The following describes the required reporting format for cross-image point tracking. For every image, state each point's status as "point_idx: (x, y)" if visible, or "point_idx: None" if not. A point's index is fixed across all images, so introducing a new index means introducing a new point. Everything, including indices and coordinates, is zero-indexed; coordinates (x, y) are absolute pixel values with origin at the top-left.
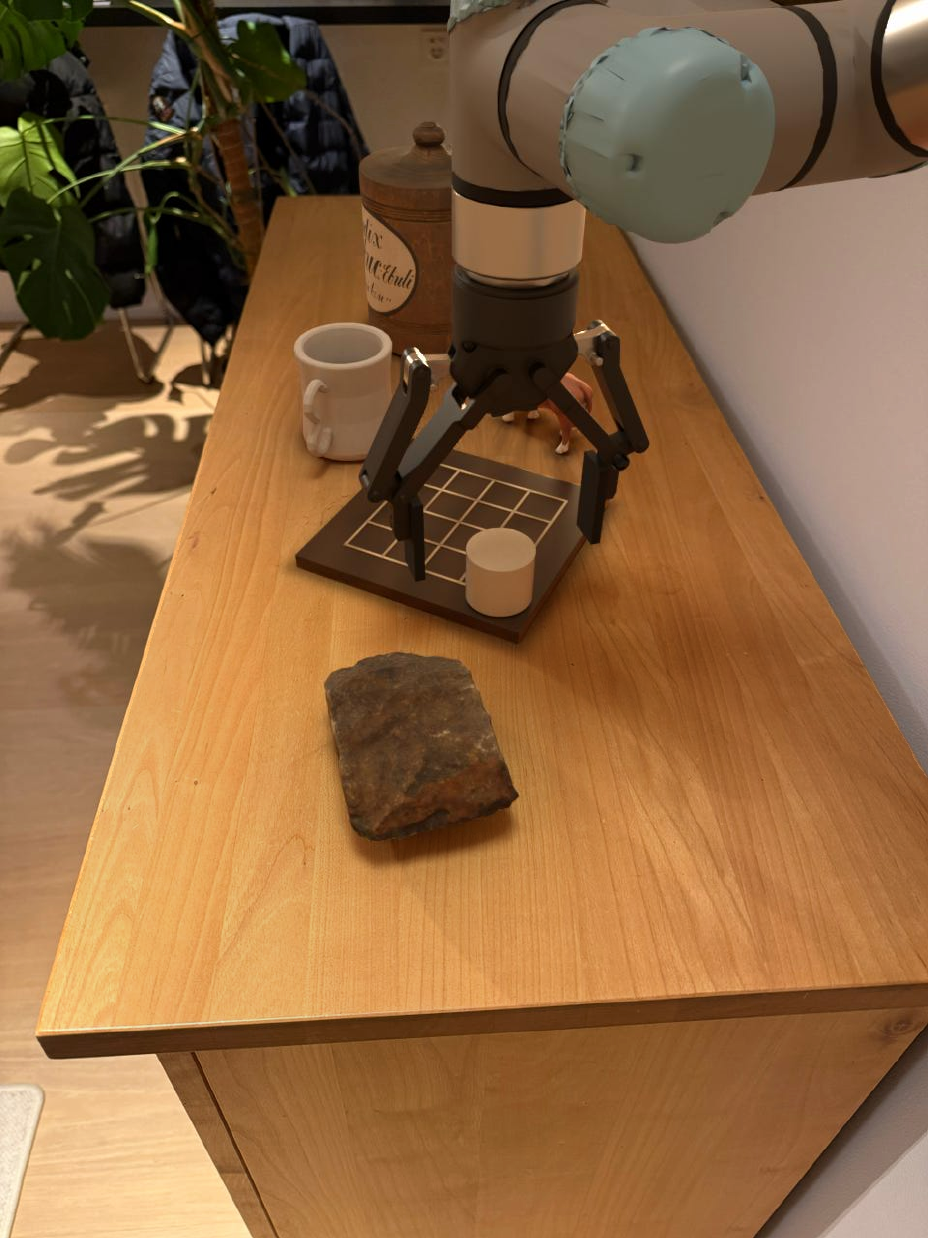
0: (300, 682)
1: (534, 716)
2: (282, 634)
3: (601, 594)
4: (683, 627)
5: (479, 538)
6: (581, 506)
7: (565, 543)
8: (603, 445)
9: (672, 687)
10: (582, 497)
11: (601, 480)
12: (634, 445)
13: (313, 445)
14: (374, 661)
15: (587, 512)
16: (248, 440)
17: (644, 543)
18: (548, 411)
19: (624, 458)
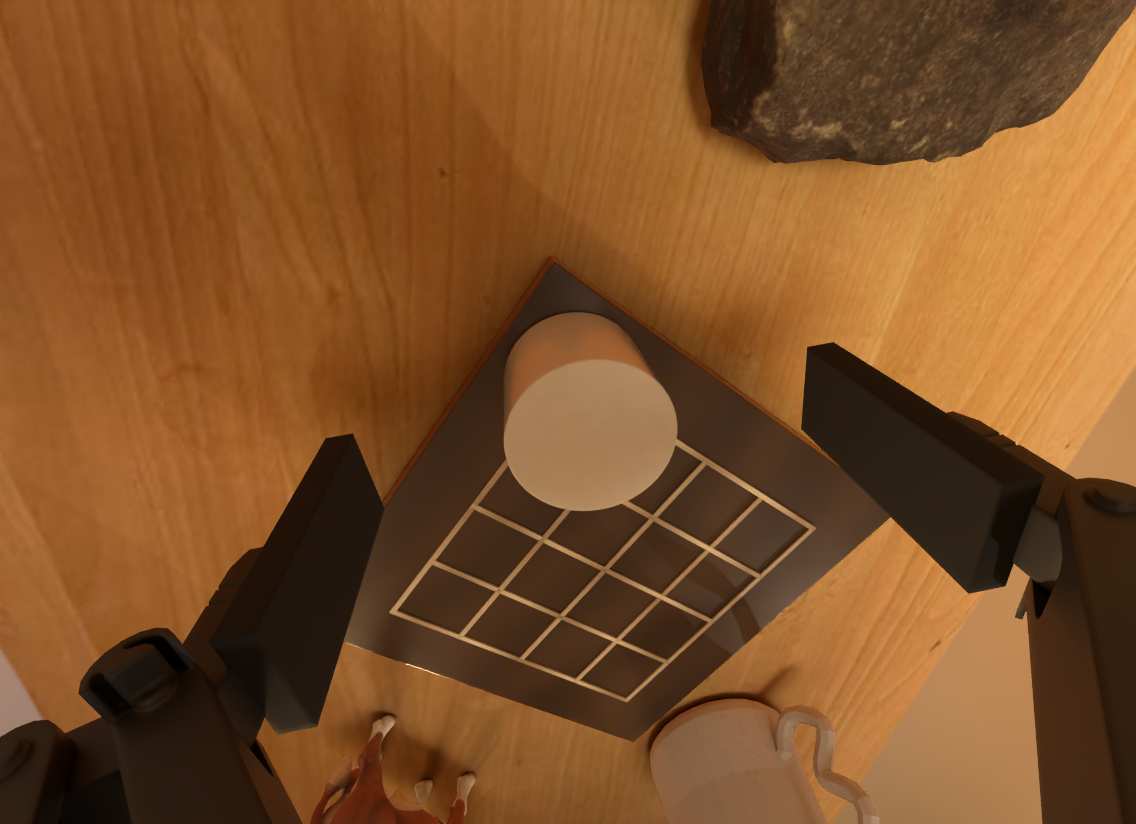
0: (984, 209)
1: (560, 5)
2: (963, 340)
3: (349, 380)
4: (159, 257)
5: (633, 479)
6: (362, 543)
7: (409, 508)
8: (191, 764)
9: (194, 43)
10: (355, 565)
11: (261, 595)
12: (37, 764)
13: (824, 726)
14: (977, 108)
15: (346, 516)
16: (854, 732)
17: (242, 510)
18: (399, 800)
19: (116, 692)
